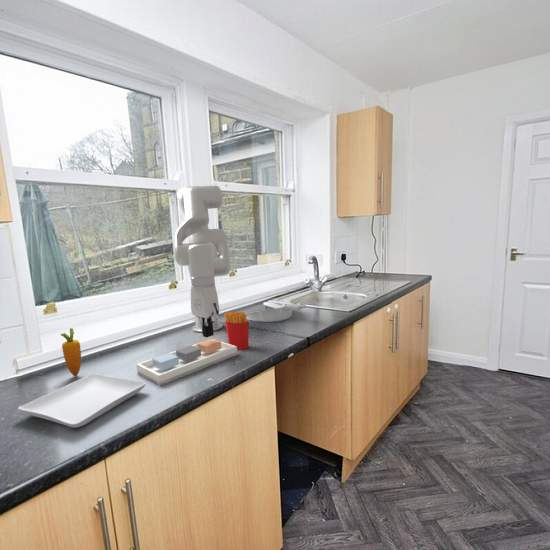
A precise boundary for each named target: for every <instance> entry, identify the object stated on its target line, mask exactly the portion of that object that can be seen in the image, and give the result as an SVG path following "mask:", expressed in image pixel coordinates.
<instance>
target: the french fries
mask: <svg viewBox="0 0 550 550" xmlns="http://www.w3.org/2000/svg"><path fill="white" fill-rule="evenodd" d="M223 315H224V318H225V321H224V323H225V328H226V333H227V334H226V335H227V341H228V344H231V345H234V346H237V351H238V350H239V351H242V350H243V351H244V350H246V349H248V348H249V333H250V332H249V330H250V327H249V325H250V323H249V321H250V320H247V315H246V313H245V312H244V311H243V312H242V311H239V312H238V311H233V312H231V311H225V312H224V313H223Z"/></svg>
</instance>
